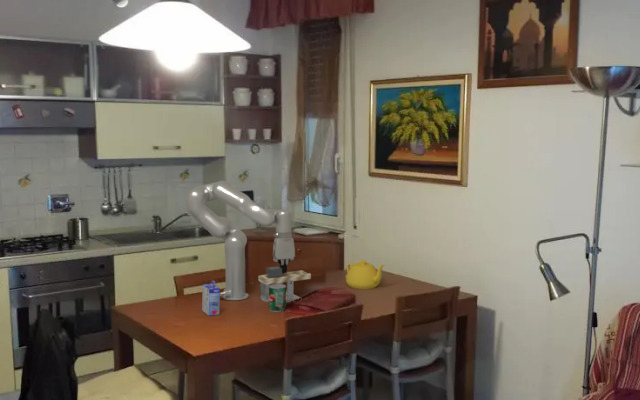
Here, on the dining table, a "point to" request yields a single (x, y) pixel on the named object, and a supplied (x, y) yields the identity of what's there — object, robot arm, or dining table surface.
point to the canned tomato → (277, 297)
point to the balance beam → (285, 277)
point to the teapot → (363, 275)
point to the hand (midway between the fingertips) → (283, 272)
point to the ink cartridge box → (211, 299)
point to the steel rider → (273, 272)
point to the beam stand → (289, 292)
